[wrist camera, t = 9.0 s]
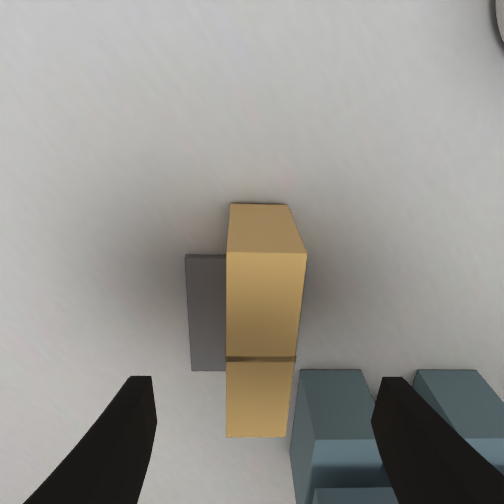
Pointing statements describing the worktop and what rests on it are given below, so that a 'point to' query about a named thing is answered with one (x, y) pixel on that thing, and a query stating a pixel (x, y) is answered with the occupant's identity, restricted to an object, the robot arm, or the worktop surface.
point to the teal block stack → (362, 437)
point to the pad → (207, 311)
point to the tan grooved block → (261, 317)
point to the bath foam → (500, 16)
